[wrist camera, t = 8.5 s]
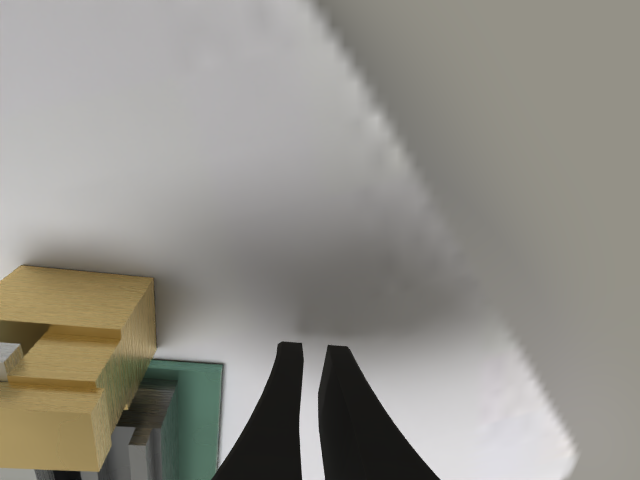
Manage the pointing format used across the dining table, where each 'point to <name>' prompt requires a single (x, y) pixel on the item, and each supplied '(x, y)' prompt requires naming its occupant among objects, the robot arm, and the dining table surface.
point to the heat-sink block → (165, 427)
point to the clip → (71, 363)
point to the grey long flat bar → (3, 360)
